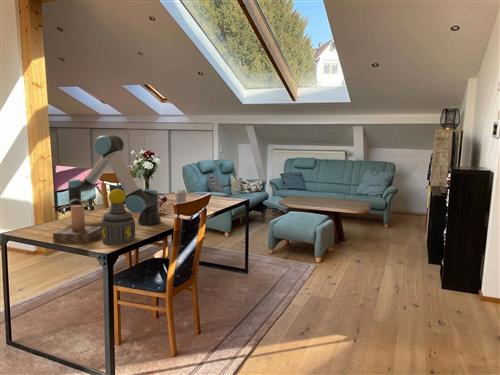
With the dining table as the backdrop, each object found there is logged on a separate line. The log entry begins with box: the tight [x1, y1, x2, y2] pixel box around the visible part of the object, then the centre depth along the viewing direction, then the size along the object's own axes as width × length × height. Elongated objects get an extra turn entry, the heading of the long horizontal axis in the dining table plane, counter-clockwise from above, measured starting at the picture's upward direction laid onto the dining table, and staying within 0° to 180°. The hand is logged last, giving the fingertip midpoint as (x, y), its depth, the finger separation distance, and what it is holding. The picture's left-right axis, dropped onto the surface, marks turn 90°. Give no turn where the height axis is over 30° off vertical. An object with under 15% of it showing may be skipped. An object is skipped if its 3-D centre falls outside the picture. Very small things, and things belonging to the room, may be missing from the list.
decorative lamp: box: [100, 188, 136, 245], centre depth 215 cm, size 19×19×30 cm
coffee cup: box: [174, 189, 187, 203], centre depth 306 cm, size 10×10×15 cm
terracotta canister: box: [70, 204, 86, 231], centre depth 218 cm, size 7×7×14 cm
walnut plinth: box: [52, 224, 101, 244], centre depth 219 cm, size 20×18×5 cm
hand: (77, 211), depth 227 cm, fingers open, 13 cm apart
